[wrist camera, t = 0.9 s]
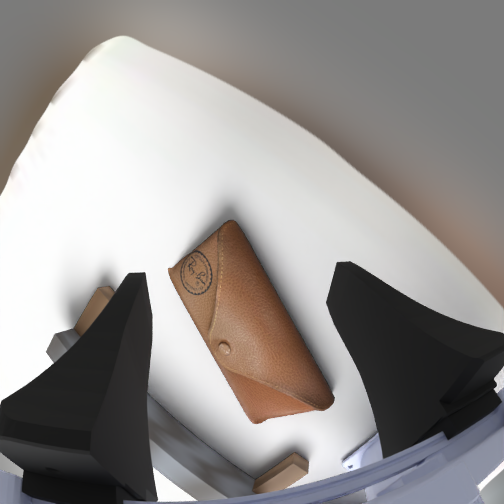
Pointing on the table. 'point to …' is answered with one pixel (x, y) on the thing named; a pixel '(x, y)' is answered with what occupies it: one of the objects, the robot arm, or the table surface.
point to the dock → (186, 439)
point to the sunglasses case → (248, 328)
